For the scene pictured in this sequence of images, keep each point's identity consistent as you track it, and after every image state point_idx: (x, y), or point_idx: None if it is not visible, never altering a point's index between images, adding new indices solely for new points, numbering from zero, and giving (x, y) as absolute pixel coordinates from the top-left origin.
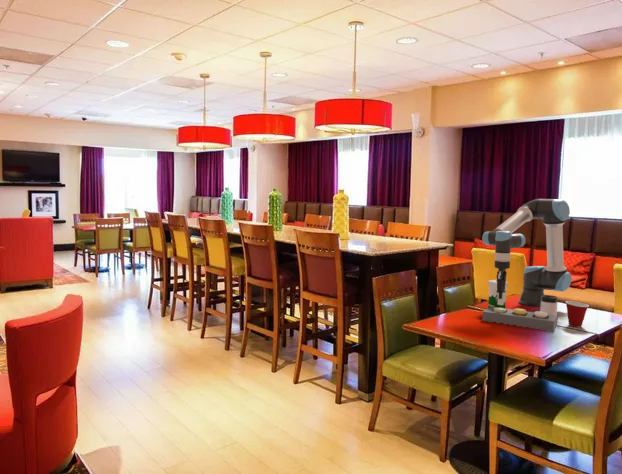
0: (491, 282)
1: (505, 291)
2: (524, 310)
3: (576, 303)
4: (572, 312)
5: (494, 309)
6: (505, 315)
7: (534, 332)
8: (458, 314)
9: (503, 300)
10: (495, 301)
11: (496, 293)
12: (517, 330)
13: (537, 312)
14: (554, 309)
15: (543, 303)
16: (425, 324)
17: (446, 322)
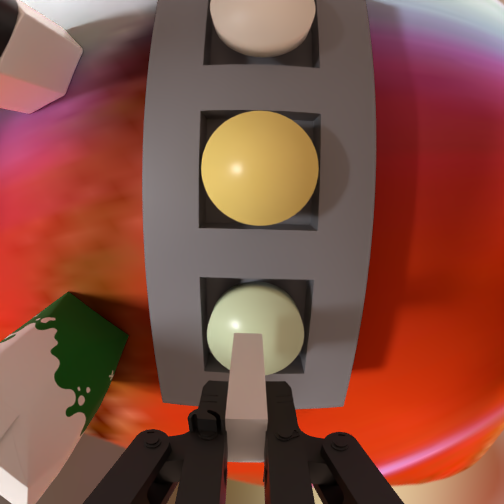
0: (31, 502)
1: (200, 415)
2: (264, 125)
3: None
4: None
5: (285, 365)
6: (366, 264)
7: (425, 78)
8: (258, 464)
9: (238, 356)
10: (94, 388)
11: (65, 424)
12: (440, 164)
13: (275, 23)
14: (38, 13)
15: (11, 57)
16: (453, 461)
17: (417, 446)
